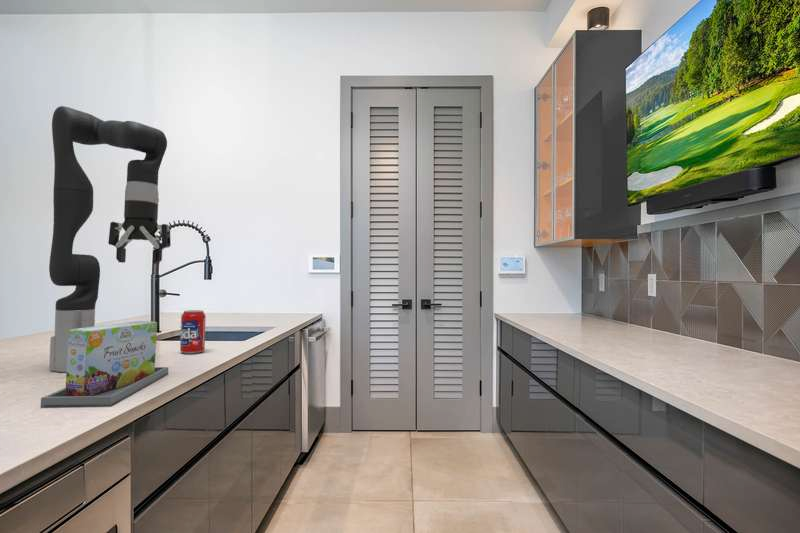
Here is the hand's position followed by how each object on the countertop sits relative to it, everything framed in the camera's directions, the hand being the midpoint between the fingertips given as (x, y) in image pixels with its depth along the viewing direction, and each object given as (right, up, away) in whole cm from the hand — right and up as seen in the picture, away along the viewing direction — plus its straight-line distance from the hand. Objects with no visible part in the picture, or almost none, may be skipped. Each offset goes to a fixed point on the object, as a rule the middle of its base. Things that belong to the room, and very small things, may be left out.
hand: (139, 263), depth 112 cm
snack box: (-2, -30, -7) cm, 31 cm away
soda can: (-6, -32, +41) cm, 52 cm away
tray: (-2, -31, -7) cm, 32 cm away
